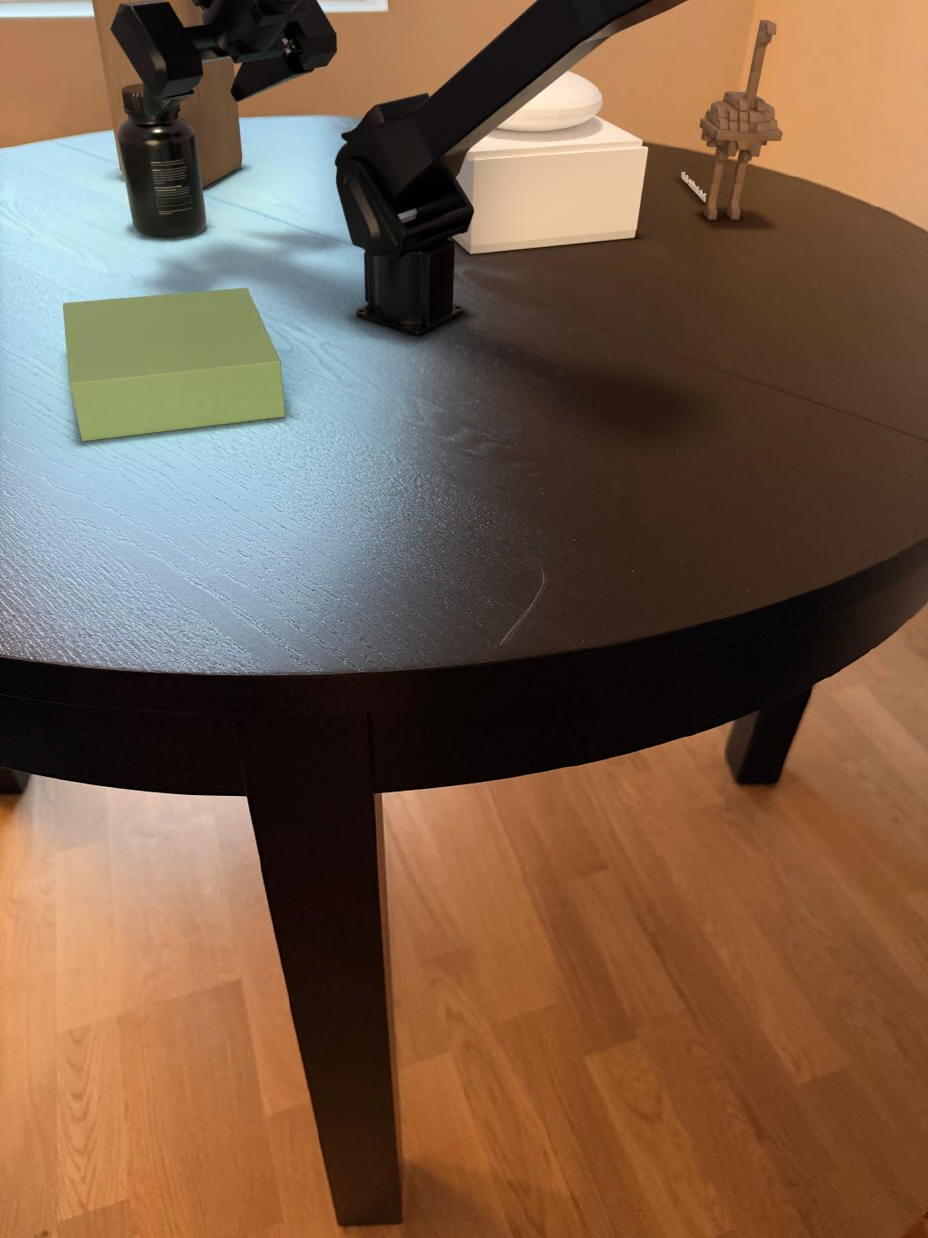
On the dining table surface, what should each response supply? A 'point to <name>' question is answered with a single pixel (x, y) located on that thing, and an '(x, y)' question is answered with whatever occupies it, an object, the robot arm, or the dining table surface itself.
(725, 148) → the ostrich figurine
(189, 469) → the dining table surface
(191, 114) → the wooden block
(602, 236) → the butter dish
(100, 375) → the green block
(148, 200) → the supplement bottle
